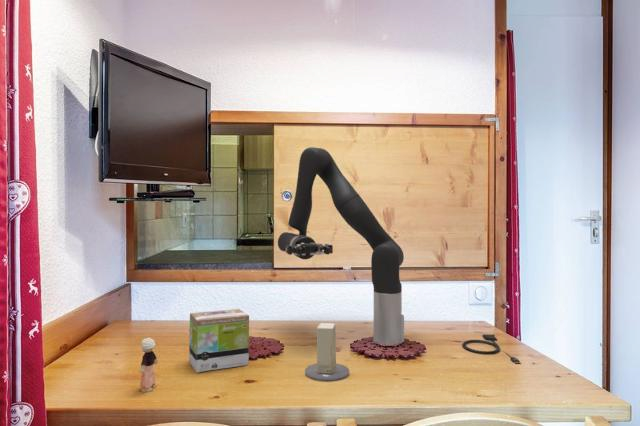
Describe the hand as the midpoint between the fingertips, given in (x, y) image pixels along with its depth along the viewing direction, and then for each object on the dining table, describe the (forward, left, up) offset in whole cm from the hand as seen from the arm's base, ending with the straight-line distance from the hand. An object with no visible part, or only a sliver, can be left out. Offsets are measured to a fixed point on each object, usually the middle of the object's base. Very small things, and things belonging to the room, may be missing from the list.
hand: (314, 251), depth 138 cm
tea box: (+28, -2, -32) cm, 43 cm away
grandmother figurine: (+46, +12, -32) cm, 57 cm away
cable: (-55, +5, -33) cm, 64 cm away
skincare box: (0, +13, -31) cm, 34 cm away
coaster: (0, +13, -32) cm, 35 cm away
